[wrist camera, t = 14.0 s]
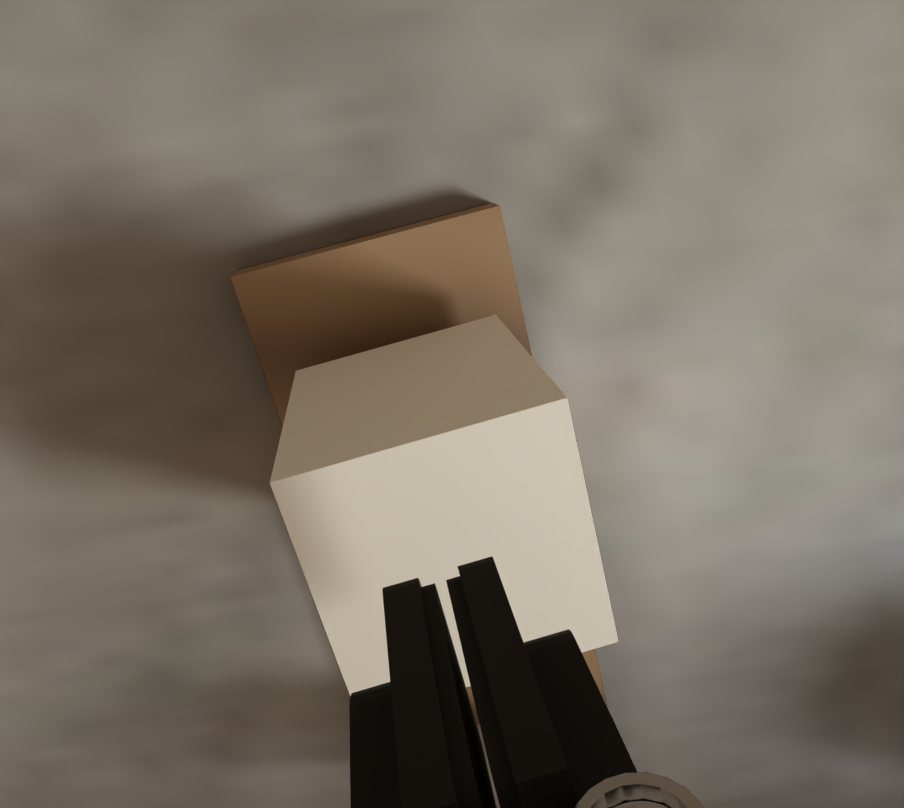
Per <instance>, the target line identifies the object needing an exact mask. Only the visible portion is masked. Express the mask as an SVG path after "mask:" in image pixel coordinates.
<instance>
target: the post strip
mask: <svg viewBox="0 0 904 808" xmlns="http://www.w3.org/2000/svg"><path fill="white" fill-rule="evenodd" d="M230 278H231V281H232V284H233V287H234V290H235V292H236V295H237V298H238V301H239V304H240V307H241V309H242V312H243V315H244V318H245V321H246V324H247V327H248V329H249V332H250V335H251V338H252V341H253V344H254V347H255V349H256V352H257V355H258V358H259V361H260V364H261V367H262V369H263V372H264V375H265V378H266V381H267V384H268V387H269V389H270V392H271V395H272V398H273V401H274V404H275V407H276V409H277V412H278V415H279V418H280V421H281V424H282V427H283V423H284V419H285V415H286V411H287V406H288V402H289V398H290V394H291V389H292V385H293V381H294V376H295V372H296V371H297V370H301V369H304V368H308V367H311V366H315V365H318V364H322V363H326V362H329V361H333V360H336V359H340V358H343V357H347V356H350V355H354V354H358V353H361V352H365V351H368V350H372V349H375V348H379V347H382V346H386V345H390V344H393V343H397V342H400V341H404V340H407V339H411V338H415V337H418V336H422V335H425V334H429V333H432V332H436V331H439V330H443V329H447V328H450V327H454V326H457V325H461V324H464V323H468V322H472V321H475V320H479V319H482V318H486V317H489V316H493V315H497V317H498V318H499V319H500V320H501V321H502V322H503V324H504V325H505V326H506V327H507V328H508V329H509V331H510V332H511V333H512V334H513V335H514V336H515V338H516V339H517V340H518V341H519V342H520V343H521V345H522V346H523V347H524V348H525V349H526V350H527V352H528V353H529V354H530V355H531V356H532V354H531V350H530V345H529V340H528V336H527V331H526V326H525V322H524V317H523V312H522V308H521V303H520V298H519V294H518V289H517V284H516V280H515V275H514V270H513V266H512V261H511V256H510V252H509V247H508V242H507V238H506V233H505V229H504V224H503V219H502V215H501V210H500V206H499V205H497V204H494V203H490V204H486V205H482V206H478V207H474V208H471V209H467V210H463V211H459V212H456V213H452V214H448V215H444V216H441V217H437V218H433V219H429V220H425V221H422V222H418V223H414V224H410V225H407V226H403V227H399V228H395V229H392V230H388V231H384V232H380V233H377V234H373V235H369V236H365V237H361V238H358V239H354V240H350V241H346V242H343V243H339V244H335V245H331V246H328V247H324V248H320V249H316V250H313V251H309V252H305V253H301V254H297V255H294V256H290V257H286V258H282V259H279V260H275V261H271V262H267V263H264V264H260V265H256V266H252V267H248V268H245V269H241V270H237V271H235V272H234V274H233V275H232V276H231V277H230ZM582 654H583V657H584V659H585V661H586V663H587V665H588V667H589V670H590V672H591V674H592V676H593V678H594V680H595V682H596V685H597V687H598V689H599V691H600V693H601V695H602V697H603V700H604V702H605V704H606V700H605V695H604V690H603V686H602V681H601V676H600V672H599V667H598V662H597V658H596V653H595V649H593V650H589V651H586V652H583V653H582ZM466 689H467V693H468V696H469V699H470V703H471V706H472V710H473V713H474V716H475V720H476V723H477V727H478V730H479V734H480V738H481V742H482V746H483V750H484V755H485V759H486V763H487V768H488V772H489V776H490V781H491V785H492V789H493V794H494V798H495V802H496V807H497V808H500V805H499V801H498V797H497V794H496V790H495V786H494V782H493V778H492V774H491V770H490V766H489V762H488V758H487V754H486V749H485V745H484V741H483V736H482V732H481V728H480V724H479V719H478V715H477V711H476V706H475V702H474V698H473V694H472V689H471V686H469V687H466ZM606 706H607V704H606Z"/></svg>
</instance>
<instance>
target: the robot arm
mask: <svg viewBox="0 0 904 808" xmlns="http://www.w3.org/2000/svg"><path fill="white" fill-rule="evenodd" d="M457 567H458V570H459V574H460V576H458V577H455V578H451V579H448V580H446V582H447V587H448V591H449V595H450V599H451V604H452V608H453V612H454V617H455V621H456V625H457V629H458V634H459V638H460V642H461V647H462V651H463V655H464V659H465V664H466V668H467V672H468V676H469V681H470V685H471V689H472V694H473V698H474V702H475V706H476V711H477V715H478V719H479V724H480V728H481V732H482V736H483V741H484V745H485V749H486V754H487V758H488V762H489V766H490V770H491V774H492V778H493V782H494V786H495V790H496V794H497V797H498V801H499V805H500V808H704V806H703V805H702V804H701V802H700V801H699V800H698V799H697V798H696V797H695V796H694V795H693V794H692V793H691V792H690V791H689V790H688V789H687V788H686V787H684V786H682V785H680V784H678V783H676V782H675V781H673V780H671V779H669V778H667V777H663V776H659V775H655V774H651V773H647V772H643V773H637V771H636V768H635V766H634V764H633V762H632V760H631V758H630V756H629V753H628V751H627V749H626V747H625V745H624V743H623V740H622V738H621V736H620V734H619V732H618V730H617V728H616V725H615V723H614V721H613V719H612V717H611V715H610V713H609V710H608V708H607V706H606V704H605V702H604V700H603V697H602V695H601V693H600V691H599V689H598V687H597V685H596V682H595V680H594V678H593V676H592V674H591V672H590V670H589V667H588V665H587V663H586V661H585V659H584V657H583V654H582V652H581V650H580V648H579V646H578V644H577V642H576V639H575V637H574V636H573V634H572V632H571V631H570V630H569V629H568V630H564V631H561V632H558V633H554V634H551V635H547V636H544V637H541V638H537V639H534V640H530V641H527V642H524V643H523V640H522V637H521V634H520V631H519V629H518V626H517V623H516V620H515V617H514V615H513V612H512V609H511V606H510V604H509V601H508V598H507V595H506V592H505V590H504V587H503V584H502V581H501V578H500V576H499V573H498V570H497V567H496V564H495V562H494V559H493V557H492V556H491V557H488V558H484V559H481V560H478V561H474V562H471V563H467V564H464V565H460V566H457ZM382 591H383V604H384V615H385V627H386V638H387V650H388V661H389V673H390V682H388V683H384V684H381V685H378V686H374V687H371V688H367V689H364V690H361V691H357V692H354V693H352V694H351V696H350V784H351V808H497V807H496V802H495V798H494V794H493V789H492V785H491V781H490V776H489V772H488V768H487V763H486V759H485V755H484V750H483V746H482V742H481V738H480V734H479V730H478V727H477V723H476V720H475V716H474V713H473V710H472V706H471V703H470V699H469V696H468V693H467V689H466V686H465V683H464V679H463V676H462V672H461V669H460V666H459V662H458V659H457V655H456V652H455V649H454V645H453V642H452V639H451V635H450V632H449V628H448V625H447V622H446V618H445V615H444V612H443V608H442V605H441V601H440V598H439V595H438V591H437V588H436V585H435V583H434V584H430V585H427V586H423V587H422V586H421V583H420V580H419V578H415V579H412V580H408V581H405V582H401V583H398V584H394V585H391V586H387V587H384V588H383V589H382Z"/></svg>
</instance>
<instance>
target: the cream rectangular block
mask: <svg viewBox="0 0 904 808" xmlns="http://www.w3.org/2000/svg"><path fill="white" fill-rule="evenodd" d="M270 485H271V488H272V490H273V493H274V496H275V498H276V501H277V504H278V506H279V509H280V512H281V514H282V517H283V520H284V522H285V525H286V527H287V530H288V533H289V535H290V538H291V541H292V543H293V546H294V549H295V551H296V554H297V557H298V559H299V562H300V565H301V567H302V570H303V572H304V575H305V578H306V580H307V583H308V586H309V588H310V591H311V594H312V596H313V599H314V602H315V604H316V607H317V609H318V612H319V615H320V617H321V620H322V623H323V625H324V628H325V631H326V633H327V636H328V639H329V641H330V644H331V646H332V649H333V652H334V654H335V657H336V660H337V662H338V665H339V668H340V670H341V673H342V676H343V678H344V681H345V683H346V686H347V689H348V691H349V694H350V696H351V694H352V693H354V692H357V691H361V690H364V689H367V688H371V687H374V686H378V685H381V684H384V683H388V682H390V673H389V661H388V650H387V638H386V627H385V615H384V604H383V591H382V589H383V588H384V587H387V586H391V585H394V584H398V583H401V582H405V581H408V580H412V579H415V578H419V580H420V583H421V586H422V587H423V586H427V585H430V584H434V583H435V585H436V588H437V591H438V595H439V598H440V601H441V605H442V608H443V612H444V615H445V618H446V622H447V625H448V628H449V632H450V635H451V639H452V642H453V645H454V649H455V652H456V655H457V659H458V662H459V666H460V669H461V672H462V676H463V679H464V683H465V686H466V687H469V686H471V685H470V681H469V676H468V672H467V668H466V664H465V659H464V655H463V651H462V647H461V642H460V638H459V634H458V629H457V625H456V621H455V617H454V612H453V608H452V604H451V599H450V595H449V591H448V587H447V582H446V580H448V579H451V578H455V577H458V576H460V574H459V570H458V567H457V566H460V565H464V564H467V563H471V562H474V561H478V560H481V559H484V558H488V557H491V556H492V557H493V559H494V562H495V564H496V567H497V570H498V573H499V576H500V578H501V581H502V584H503V587H504V590H505V592H506V595H507V598H508V601H509V604H510V606H511V609H512V612H513V615H514V617H515V620H516V623H517V626H518V629H519V631H520V634H521V637H522V640H523V643H524V642H527V641H530V640H534V639H537V638H541V637H544V636H547V635H551V634H554V633H558V632H561V631H564V630H568V629H569V630H570V631H571V632H572V634H573V636H574V637H575V639H576V642H577V644H578V646H579V648H580V650H581V652H582V653H583V652H586V651H589V650H593V649H596V648H599V647H603V646H606V645H609V644H613V643H616V642H618V637H617V632H616V628H615V623H614V618H613V613H612V609H611V604H610V599H609V594H608V590H607V585H606V580H605V575H604V571H603V566H602V561H601V556H600V552H599V547H598V542H597V537H596V533H595V528H594V523H593V518H592V514H591V509H590V504H589V500H588V495H587V490H586V485H585V481H584V476H583V471H582V466H581V462H580V457H579V452H578V447H577V443H576V438H575V433H574V428H573V424H572V419H571V414H570V409H569V405H568V400H567V397H566V396H565V395H564V394H563V392H562V391H561V390H560V389H559V388H558V387H557V385H556V384H555V383H554V382H553V381H552V380H551V378H550V377H549V376H548V375H547V374H546V373H545V371H544V370H543V369H542V368H541V367H540V366H539V364H538V363H537V362H536V361H535V360H534V359H533V357H532V356H531V355H530V354H529V353H528V352H527V350H526V349H525V348H524V347H523V346H522V345H521V343H520V342H519V341H518V340H517V339H516V338H515V336H514V335H513V334H512V333H511V332H510V331H509V329H508V328H507V327H506V326H505V325H504V324H503V322H502V321H501V320H500V319H499V318H498V317H497V315H493V316H489V317H486V318H482V319H479V320H475V321H472V322H468V323H464V324H461V325H457V326H454V327H450V328H447V329H443V330H439V331H436V332H432V333H429V334H425V335H422V336H418V337H415V338H411V339H407V340H404V341H400V342H397V343H393V344H390V345H386V346H382V347H379V348H375V349H372V350H368V351H365V352H361V353H358V354H354V355H350V356H347V357H343V358H340V359H336V360H333V361H329V362H326V363H322V364H318V365H315V366H311V367H308V368H304V369H301V370H297V371H296V372H295V376H294V381H293V385H292V389H291V394H290V398H289V402H288V406H287V411H286V415H285V419H284V423H283V428H282V432H281V436H280V441H279V445H278V449H277V453H276V458H275V462H274V466H273V471H272V475H271V479H270Z"/></svg>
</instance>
